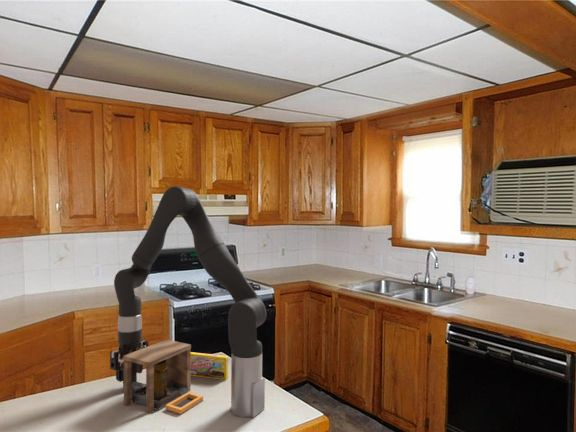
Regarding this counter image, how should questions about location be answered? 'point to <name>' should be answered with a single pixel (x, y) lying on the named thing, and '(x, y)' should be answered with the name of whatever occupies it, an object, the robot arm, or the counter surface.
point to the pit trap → (184, 403)
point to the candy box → (209, 366)
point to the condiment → (160, 380)
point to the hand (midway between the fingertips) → (129, 376)
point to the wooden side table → (148, 356)
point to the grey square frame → (141, 389)
